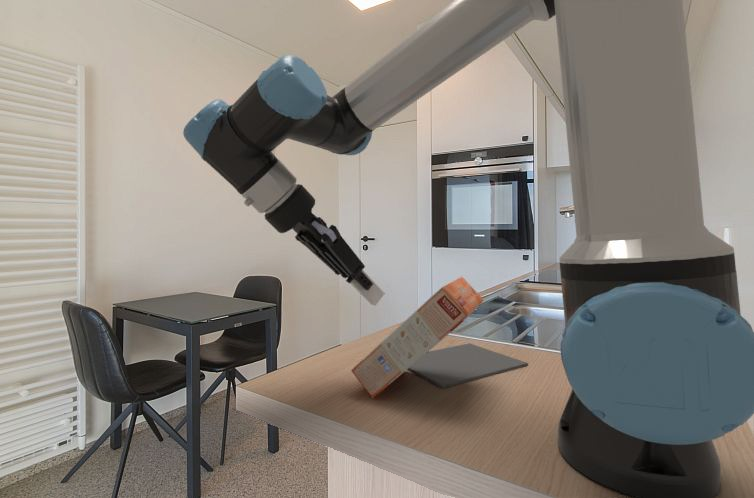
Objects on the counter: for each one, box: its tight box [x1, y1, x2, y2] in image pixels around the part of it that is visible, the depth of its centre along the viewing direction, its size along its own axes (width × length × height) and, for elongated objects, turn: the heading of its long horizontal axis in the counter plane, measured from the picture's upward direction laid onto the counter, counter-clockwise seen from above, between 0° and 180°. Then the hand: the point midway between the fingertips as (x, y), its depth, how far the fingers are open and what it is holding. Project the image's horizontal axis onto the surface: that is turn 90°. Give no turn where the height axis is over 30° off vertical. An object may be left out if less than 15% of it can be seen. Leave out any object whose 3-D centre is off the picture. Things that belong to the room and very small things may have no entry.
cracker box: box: [351, 276, 484, 399], centre depth 65 cm, size 14×6×21 cm
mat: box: [406, 343, 529, 389], centre depth 77 cm, size 16×21×1 cm
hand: (377, 298), depth 68 cm, fingers closed
